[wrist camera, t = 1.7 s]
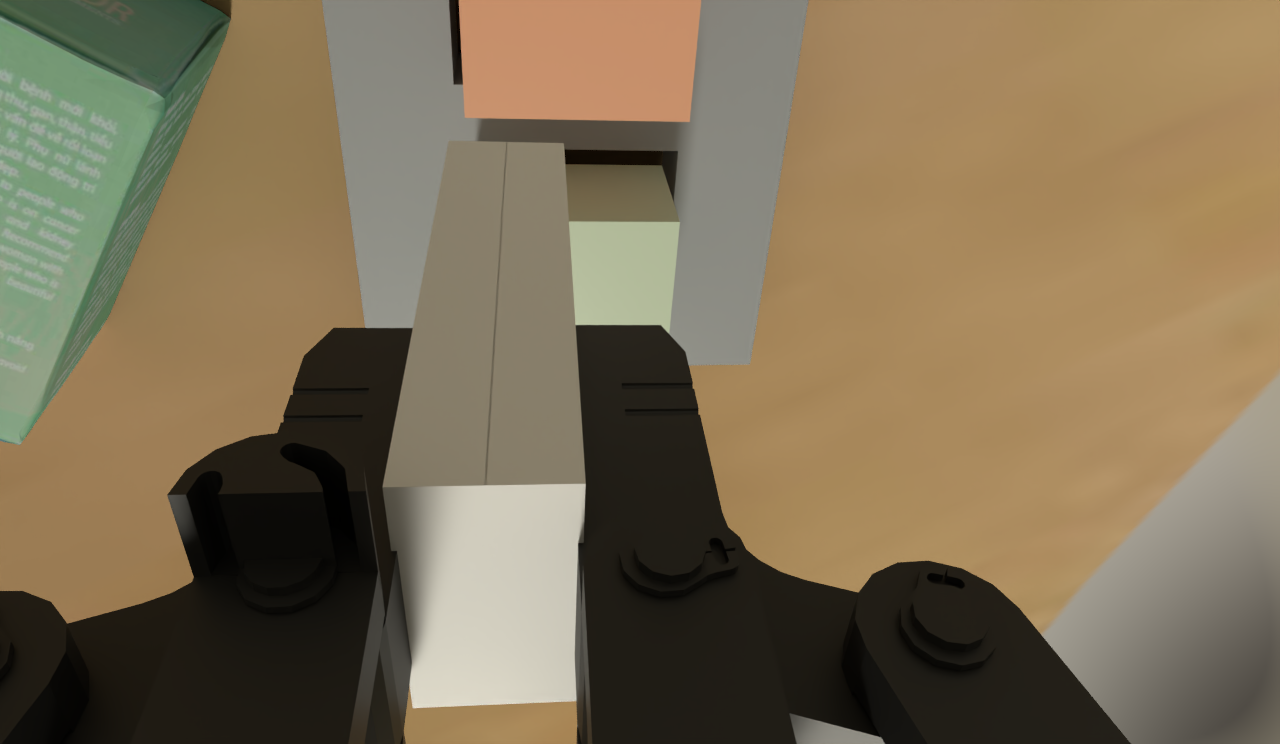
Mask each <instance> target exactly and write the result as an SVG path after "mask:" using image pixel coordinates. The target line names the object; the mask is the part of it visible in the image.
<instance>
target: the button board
mask: <svg viewBox="0 0 1280 744" xmlns="http://www.w3.org/2000/svg"><path fill="white" fill-rule="evenodd" d="M322 4H323V12H324V19H325V27H326V34H327V42H328V49H329V57H330V64H331V72H332V80H333V87H334V95H335V102H336V110H337V117H338V125H339V132H340V140H341V147H342V155H343V163H344V170H345V178H346V185H347V193H348V200H349V208H350V215H351V223H352V231H353V238H354V246H355V253H356V261H357V268H358V276H359V283H360V291H361V298H362V306H363V314H364V321H365V328H413V325H414V320H415V314H416V309H417V304H418V299H419V293H420V288H421V283H422V278H423V273H424V267H425V262H426V257H427V252H428V246H429V241H430V236H431V231H432V225H433V220H434V215H435V210H436V205H437V199H438V194H439V189H440V184H441V178H442V173H443V168H444V163H445V157H446V152H447V147H448V142H449V141H488V142H533V143H564V150H637V151H663V156H662V168H663V171H664V174H665V177H666V180H667V183H668V186H669V189H670V193H671V196H672V199H673V202H674V205H675V208H676V211H677V214H678V217H679V220H680V227H679V237H678V248H677V258H676V269H675V279H674V289H673V300H672V310H671V321H670V331H669V334H670V335H671V337H672V338H673V339H674V340H675V341H676V342H677V343H678V344H679V345H680V346H681V347H682V348H683V350H684V351H685V352H686V356H687V360H688V365H741V364H750V361H751V355H752V349H753V342H754V336H755V330H756V324H757V317H758V311H759V305H760V299H761V293H762V286H763V280H764V274H765V268H766V261H767V255H768V249H769V243H770V236H771V230H772V224H773V218H774V212H775V205H776V199H777V193H778V187H779V180H780V174H781V168H782V162H783V156H784V149H785V143H786V137H787V131H788V124H789V118H790V112H791V106H792V99H793V93H794V87H795V81H796V75H797V68H798V62H799V56H800V50H801V43H802V37H803V31H804V25H805V19H806V12H807V6H808V0H701V8H700V19H699V29H698V40H697V50H696V60H695V71H694V81H693V92H692V102H691V112H690V122H664V121H608V120H552V119H496V118H465V114H464V94H463V74H462V54H461V53H458V45H457V26H456V7H455V0H322Z"/></svg>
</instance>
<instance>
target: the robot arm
mask: <svg viewBox="0 0 1280 744" xmlns="http://www.w3.org/2000/svg"><path fill="white" fill-rule="evenodd" d="M692 384H693V382H692V378H691V374H690V369H689V365H688V360H687V356H686V352H685V351H684V350H683V348H682V347H681V346H680V345H679V344H678V343H677V342H676V341H675V340H674V339H673V338H672V337H671V335H670V334H669V333H668V332H667V331H666V330H665V329H664V328H663V327H662V326H661V325H575V309H574V293H573V278H572V262H571V246H570V231H569V215H568V200H567V184H566V168H565V153H564V143H533V142H488V141H449V142H448V147H447V152H446V157H445V163H444V168H443V173H442V178H441V184H440V189H439V194H438V199H437V205H436V210H435V215H434V220H433V225H432V231H431V236H430V241H429V246H428V252H427V257H426V262H425V267H424V273H423V278H422V283H421V288H420V293H419V299H418V304H417V309H416V314H415V320H414V325H413V328H333V329H332V330H331V331H330V332H329V333H328V334H327V335H326V336H325V337H324V338H323V339H322V340H320V341H319V342H318V343H317V344H316V345H315V346H314V347H313V348H312V349H311V350H310V351H309V352H308V353H307V354H306V355H305V356H304V358H303V361H302V363H301V366H300V369H299V372H298V375H297V378H296V381H295V384H294V387H293V395H290V398H289V401H288V404H287V407H286V410H285V413H284V415H283V416H284V422H283V423H281V424H280V427H279V430H278V433H275V434H267V435H260V436H252V437H249V438H246V439H243V440H241V441H238V442H235V443H232V444H230V445H227V446H224V447H222V448H219V449H216V450H214V451H213V452H212V453H210V454H209V455H207V456H206V457H204V458H203V459H201V460H200V461H198V462H197V463H196V464H194V465H193V466H191V467H190V468H188V469H187V470H186V471H185V472H184V473H183V475H182V476H181V477H180V479H179V480H178V481H177V483H176V484H175V485H174V487H173V488H172V489H171V491H170V492H169V493H168V495H167V496H168V499H169V502H170V505H171V508H172V511H173V514H174V517H175V520H176V523H177V526H178V529H179V533H180V536H181V539H182V542H183V545H184V548H185V551H186V554H187V557H188V560H189V563H190V566H191V570H192V573H193V576H194V578H193V581H192V582H191V583H190V584H188V585H186V586H184V587H182V588H180V589H178V590H176V591H175V592H173V593H170V594H168V595H165V596H162V597H159V598H156V599H154V600H151V601H148V602H145V603H142V604H139V605H135V606H131V607H127V608H124V609H120V610H116V611H113V612H109V613H105V614H102V615H98V616H94V617H91V618H87V619H83V620H79V621H76V622H72V623H68V624H67V623H66V621H65V620H64V619H63V617H62V616H61V615H60V613H59V612H58V611H57V609H56V608H55V607H54V605H53V604H52V603H51V602H50V601H47V600H45V599H42V598H39V597H37V596H34V595H31V594H29V593H26V592H24V591H0V744H406V743H405V736H404V723H405V715H406V707H407V700H408V692H409V684H410V691H411V698H412V705H413V708H425V707H448V706H471V705H495V704H518V703H541V702H565V701H576V702H577V744H1131V743H1130V742H1129V741H1128V740H1127V738H1126V737H1125V736H1124V735H1123V734H1122V732H1121V731H1120V730H1119V729H1118V728H1117V726H1116V725H1115V724H1114V723H1113V722H1112V720H1111V719H1110V718H1109V717H1108V715H1107V714H1106V713H1105V712H1104V711H1103V709H1102V708H1101V707H1100V706H1099V705H1098V703H1097V702H1096V701H1095V700H1094V699H1093V697H1091V695H1090V694H1089V692H1088V691H1087V690H1086V689H1085V688H1084V686H1083V685H1082V684H1081V683H1080V682H1079V681H1078V679H1077V678H1076V677H1075V675H1074V674H1073V673H1072V672H1071V671H1070V669H1069V668H1068V667H1067V666H1066V665H1065V663H1064V662H1063V661H1062V660H1061V659H1060V657H1059V656H1058V655H1057V654H1056V652H1055V651H1054V650H1053V649H1052V648H1051V646H1050V645H1049V644H1048V643H1047V641H1045V639H1044V638H1043V637H1042V635H1041V634H1040V633H1039V632H1038V631H1037V629H1036V628H1035V627H1034V626H1033V624H1032V623H1031V622H1030V621H1029V620H1028V618H1027V617H1026V616H1025V615H1024V614H1023V612H1022V611H1021V610H1020V609H1019V608H1018V607H1017V606H1016V605H1015V604H1014V603H1013V602H1012V601H1011V600H1009V599H1008V598H1007V597H1006V596H1005V595H1004V594H1003V593H1002V592H1001V591H1000V590H998V589H997V588H996V587H995V586H994V585H993V584H991V583H989V582H987V581H985V580H983V579H981V578H979V577H977V576H975V575H973V574H971V573H969V572H968V571H966V570H964V569H962V568H957V567H953V566H949V565H944V564H940V563H936V562H931V561H917V562H900V563H896V564H894V565H891V566H889V567H887V568H885V569H883V570H880V571H878V572H876V573H874V574H872V576H871V577H870V578H869V580H868V581H867V582H866V584H865V585H864V586H863V588H862V589H861V590H860V592H859V593H857V592H853V591H849V590H845V589H840V588H836V587H832V586H828V585H824V584H819V583H815V582H811V581H807V580H803V579H800V578H797V577H794V576H791V575H788V574H785V573H782V572H780V571H778V570H776V569H774V568H772V567H771V566H769V565H767V564H765V563H763V562H761V561H760V560H758V559H757V558H756V557H755V556H753V555H752V554H751V553H750V552H749V551H747V550H746V548H745V546H744V544H743V542H742V540H741V538H740V537H739V536H738V535H737V534H735V533H734V532H733V531H732V530H731V529H730V528H728V526H727V523H726V521H725V518H724V516H723V513H722V510H721V505H720V501H719V497H718V492H717V488H716V483H715V479H714V475H713V470H712V466H711V462H710V457H709V453H708V448H707V444H706V440H705V435H704V431H703V426H702V422H701V418H700V415H698V404H697V400H696V396H695V391H694V389H693V387H692Z"/></svg>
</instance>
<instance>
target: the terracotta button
mask: <svg viewBox="0 0 1280 744" xmlns="http://www.w3.org/2000/svg"><path fill="white" fill-rule="evenodd" d="M700 8H701V0H459V14H460V34H461V54H462V74H463V94H464V114H465V118H496V119H552V120H608V121H664V122H690V112H691V102H692V92H693V81H694V71H695V60H696V50H697V40H698V29H699V19H700Z"/></svg>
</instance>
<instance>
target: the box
mask: <svg viewBox="0 0 1280 744" xmlns="http://www.w3.org/2000/svg"><path fill="white" fill-rule="evenodd" d="M230 20H231V18H229V17H228V16H227V15H225V14H224V13H223V12H221V11H220V10H218V9H216V8H214V7H212V6H210V5H208V4H206V3H204V2H202V1H201V0H0V441H3V442H7V443H13V444H18V445H20V444H21V443H22V441H23V440H24V439H25V437H26V436H27V435H28V433H29V432H30V430H31V429H32V427H33V426H34V424H35V423H36V422H37V420H38V419H39V417H40V416H41V414H42V413H43V411H44V410H45V408H46V407H47V406H48V404H49V403H50V402H51V400H52V399H53V398H54V396H55V395H56V394H57V392H58V391H59V389H60V388H61V386H62V385H63V384H64V382H65V381H66V379H67V378H68V376H69V375H70V373H71V372H72V371H73V369H74V368H75V366H76V365H77V363H78V362H79V360H80V359H81V357H82V356H83V354H84V353H85V351H86V350H87V348H88V347H89V345H90V344H91V342H92V341H93V339H94V338H95V336H96V335H97V334H98V332H99V331H100V330H101V328H102V326H103V325H104V323H105V321H106V320H107V318H108V316H109V314H110V312H111V310H112V307H113V305H114V303H115V300H116V298H117V296H118V293H119V291H120V288H121V286H122V284H123V281H124V279H125V276H126V274H127V272H128V269H129V267H130V265H131V262H132V260H133V258H134V255H135V253H136V251H137V248H138V246H139V243H140V241H141V239H142V236H143V234H144V232H145V229H146V227H147V225H148V222H149V220H150V217H151V215H152V213H153V210H154V208H155V206H156V203H157V201H158V198H159V196H160V194H161V191H162V189H163V187H164V184H165V182H166V179H167V177H168V175H169V172H170V170H171V168H172V165H173V163H174V161H175V158H176V156H177V153H178V151H179V149H180V146H181V144H182V141H183V139H184V137H185V134H186V132H187V129H188V127H189V124H190V122H191V119H192V117H193V114H194V112H195V109H196V107H197V104H198V102H199V99H200V97H201V95H202V92H203V90H204V88H205V85H206V83H207V80H208V78H209V76H210V73H211V71H212V68H213V66H214V64H215V61H216V59H217V57H218V54H219V52H220V49H221V47H222V44H223V42H224V40H225V37H226V34H227V30H228V27H229V23H230Z"/></svg>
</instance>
